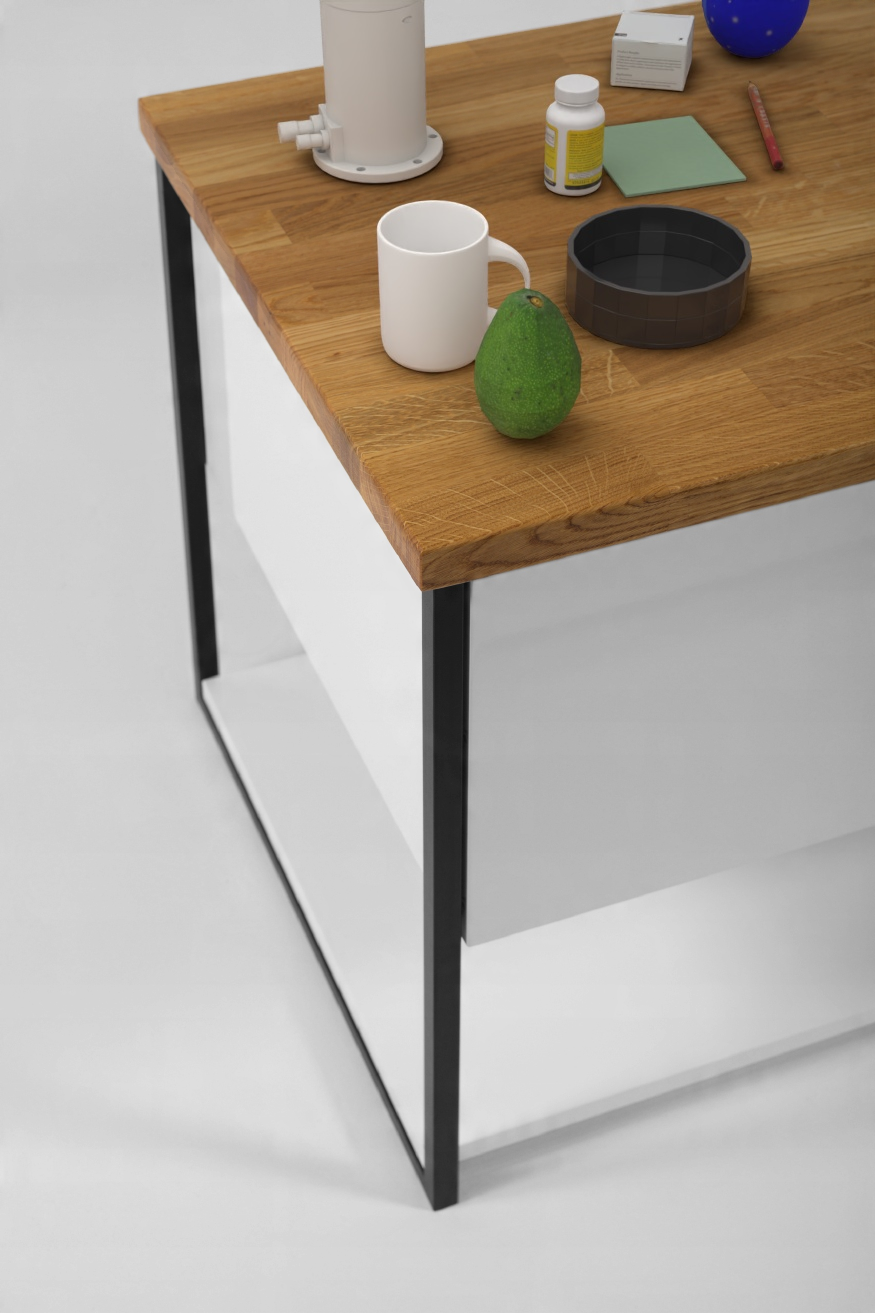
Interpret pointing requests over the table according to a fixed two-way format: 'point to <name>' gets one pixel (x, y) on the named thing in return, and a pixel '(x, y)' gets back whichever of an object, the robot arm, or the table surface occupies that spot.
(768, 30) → the ornament
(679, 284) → the pan
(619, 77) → the small box
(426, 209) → the mug
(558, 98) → the supplement bottle
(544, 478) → the table surface
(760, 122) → the pencil
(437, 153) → the robot arm
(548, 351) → the avocado
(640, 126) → the cloth
